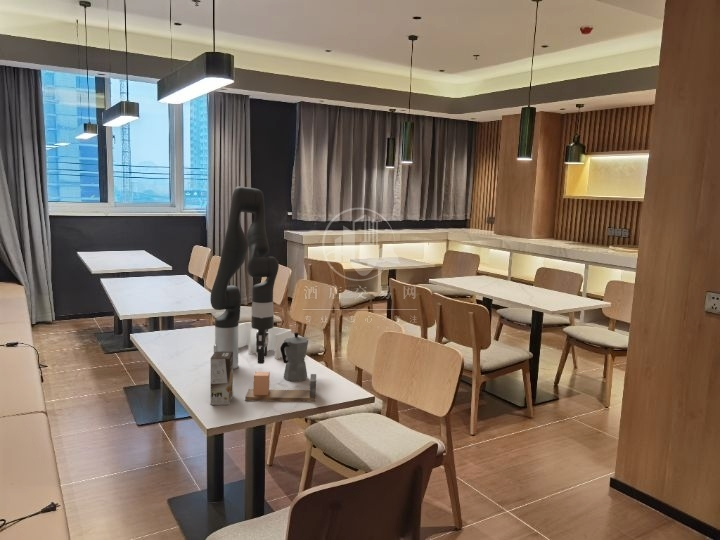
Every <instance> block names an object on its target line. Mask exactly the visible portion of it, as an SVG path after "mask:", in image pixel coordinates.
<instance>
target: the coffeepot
mask: <svg viewBox="0 0 720 540" xmlns="http://www.w3.org/2000/svg"><path fill="white" fill-rule="evenodd" d="M293 334H294V336H291V338H286V339H285V340H284V343H283V344H282V345H281V348H280V349H281V353H282V357H281V358H282V362H283V363H284V364H285V367H284V368H285V369H284V373H283V379H284V380H285V381H288V382H294V381H297V382H303V381H305V380H307V378H308V372H307V364H306V361H305V358H306V355H307V351H308V344H309V339H308V337H305V336H304V337H303V336H302V337H301V336H299V332H294V333H293ZM285 352H286V355H285Z"/></svg>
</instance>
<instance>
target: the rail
mask: <svg viewBox="0 0 720 540" xmlns="http://www.w3.org/2000/svg"><path fill="white" fill-rule="evenodd" d="M309 377H310V378H309V389H276V388H275V389H271V388H269V393H268V395H253V388H248V390H247V392H246V394H245V401H257V402H258V401H264V402H266V401H267V402H269V401H270V402H271V401H272V402H275V401H276V402H316V398H317V397H316V395H317V374H316V373H310V376H309Z"/></svg>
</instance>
